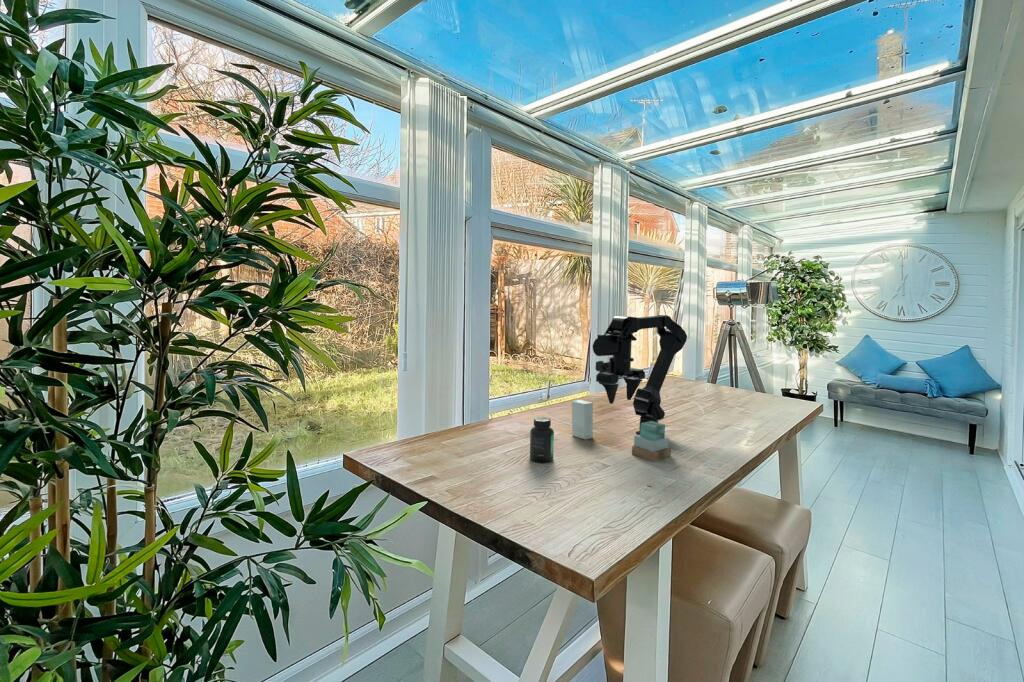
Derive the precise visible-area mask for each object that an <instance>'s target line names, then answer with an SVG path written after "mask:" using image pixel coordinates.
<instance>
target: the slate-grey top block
mask: <svg viewBox="0 0 1024 682" xmlns="http://www.w3.org/2000/svg"><path fill="white" fill-rule="evenodd" d="M633 438H634V439H633V446H637V447H640V448H643V449H646V450H649V451H652V452H655V451H658V450H662V449H665V448H668V447H669V437H667V436H665V438H662V439H658V440H651V439H648V438H644V437H641V436H640V434H636V435H634V437H633Z"/></svg>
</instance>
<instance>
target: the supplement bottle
mask: <svg viewBox="0 0 1024 682" xmlns="http://www.w3.org/2000/svg"><path fill="white" fill-rule="evenodd" d="M551 421H552V420H551V418H550V417H547V416H546V417H544V416H538V417H534V419H533V427H531V429H530V432H529V459H530V461H531V462H534V463H535V464H549V463H551V462H552V461H554V447H555V446H554V445H555V442H554V441H555V432H554V431H555V430H554V429H553V428H552V427H551V426H552V425H551V423H552V422H551Z"/></svg>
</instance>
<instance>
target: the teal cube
mask: <svg viewBox="0 0 1024 682" xmlns="http://www.w3.org/2000/svg"><path fill="white" fill-rule="evenodd" d="M639 428H640V427H639ZM665 434H666V424H665V423H660V422H658V423H657V422H653V421H649V422H644V423H641V428H640V434H639V435H640V436H641V437H644V438H648V439H651V440H658V439H662V438H665V437H666V436H665Z"/></svg>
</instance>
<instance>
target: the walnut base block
mask: <svg viewBox="0 0 1024 682" xmlns="http://www.w3.org/2000/svg"><path fill="white" fill-rule="evenodd" d="M671 449H672V447H670V446H668V448H665V449H662V450H658V451H655V452H652V451H649V450H646V449H643V448H640V447H637V446H634V445H632V446H631V455H633V456H636V457H638V458H640V459H645V460H648V461H650V462H654V463H656V462H659V461H662V460H663V459H667V458H670V457H671V455H672V454H671V453H672V450H671Z"/></svg>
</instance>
